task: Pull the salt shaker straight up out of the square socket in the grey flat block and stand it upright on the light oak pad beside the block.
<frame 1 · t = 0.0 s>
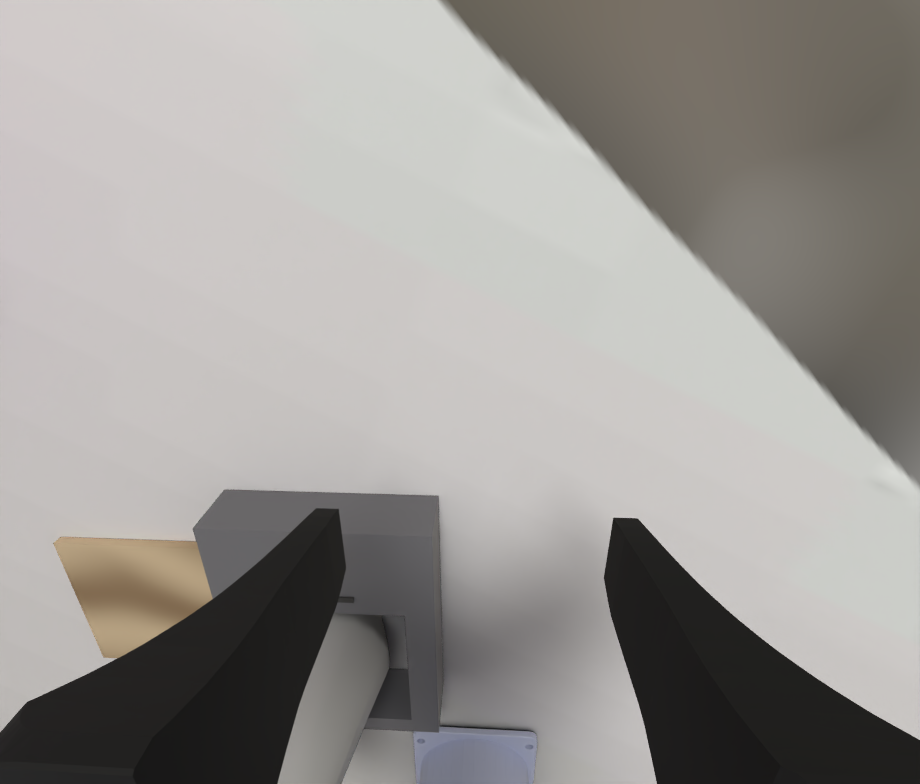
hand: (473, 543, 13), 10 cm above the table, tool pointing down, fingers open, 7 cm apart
grey flat block: (344, 595, 28), on the table
oak pad: (160, 600, 29), on the table
salt shaker: (348, 617, 29), resting in grey flat block
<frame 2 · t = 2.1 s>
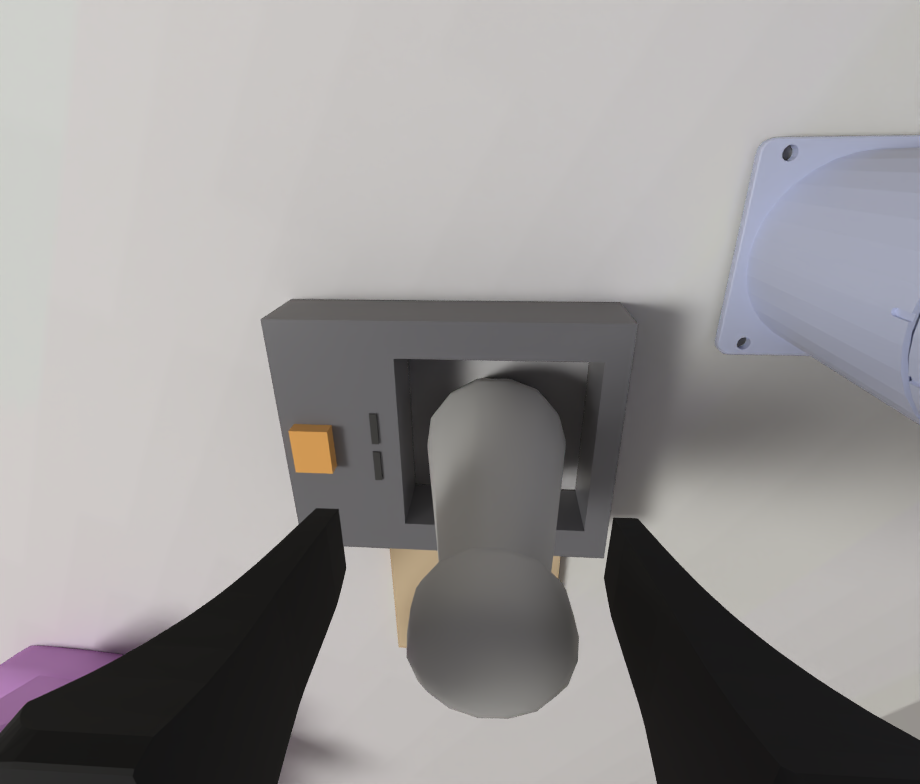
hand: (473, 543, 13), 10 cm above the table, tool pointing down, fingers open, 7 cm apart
grey flat block: (453, 415, 23), on the table
oak pad: (474, 589, 28), on the table
salt shaker: (496, 414, 23), resting in grey flat block
teakettle: (114, 704, 36), on the table
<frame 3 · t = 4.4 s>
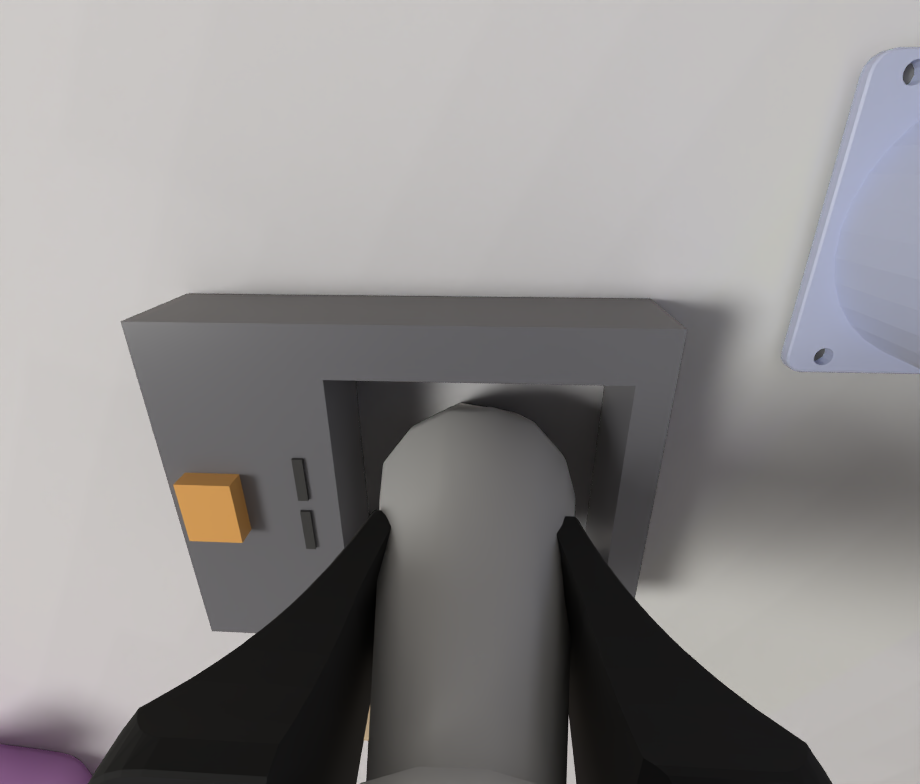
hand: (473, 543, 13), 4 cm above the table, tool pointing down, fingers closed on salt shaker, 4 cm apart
grey flat block: (419, 453, 17), on the table
salt shaker: (477, 451, 17), resting in grey flat block, touching gripper
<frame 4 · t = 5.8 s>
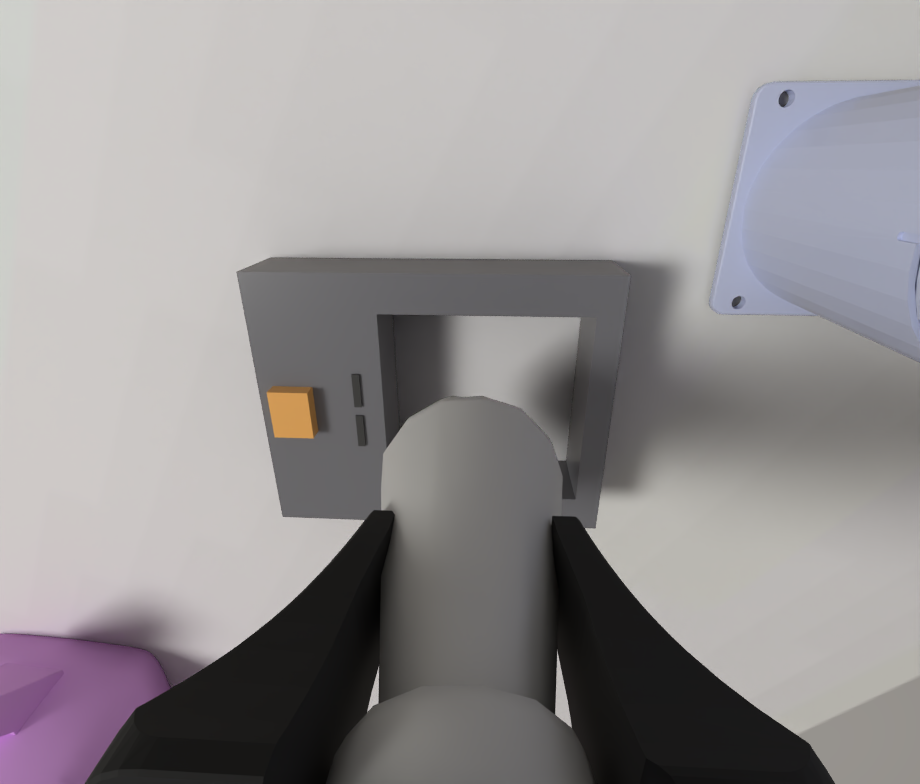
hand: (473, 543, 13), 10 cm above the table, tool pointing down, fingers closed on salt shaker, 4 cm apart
grey flat block: (440, 382, 22), on the table
salt shaker: (471, 442, 18), point 5 cm above the table, touching gripper
teakettle: (89, 696, 34), on the table
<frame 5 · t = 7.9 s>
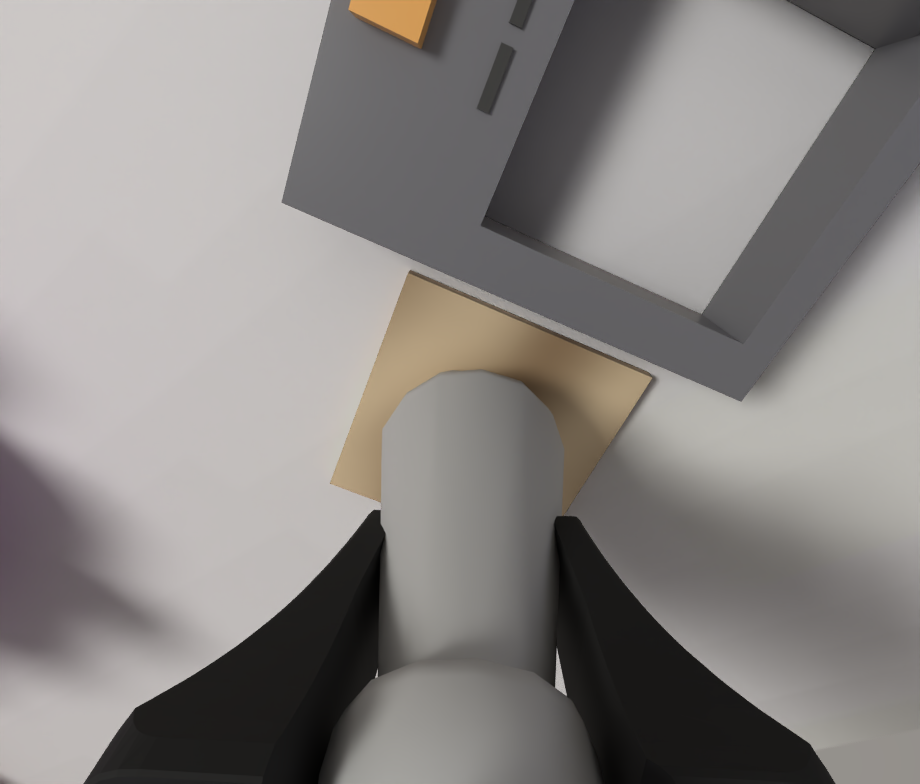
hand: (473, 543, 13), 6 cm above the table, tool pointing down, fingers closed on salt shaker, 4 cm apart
grey flat block: (602, 108, 14), on the table
oak pad: (479, 427, 19), on the table
salt shaker: (472, 416, 18), resting on oak pad, touching gripper
when the fingers open (6 cm above the table, at t = 8.8 s): salt shaker stays where it is, resting on oak pad.
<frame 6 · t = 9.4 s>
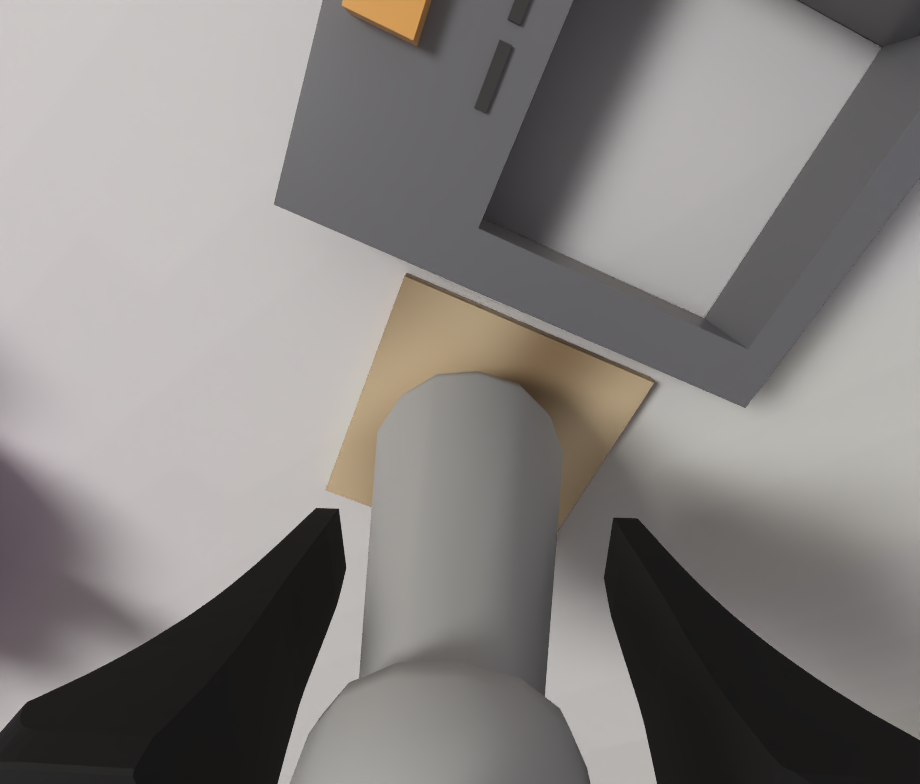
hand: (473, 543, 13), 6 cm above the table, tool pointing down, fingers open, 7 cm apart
grey flat block: (602, 108, 14), on the table
oak pad: (478, 433, 18), on the table
salt shaker: (470, 421, 18), resting on oak pad
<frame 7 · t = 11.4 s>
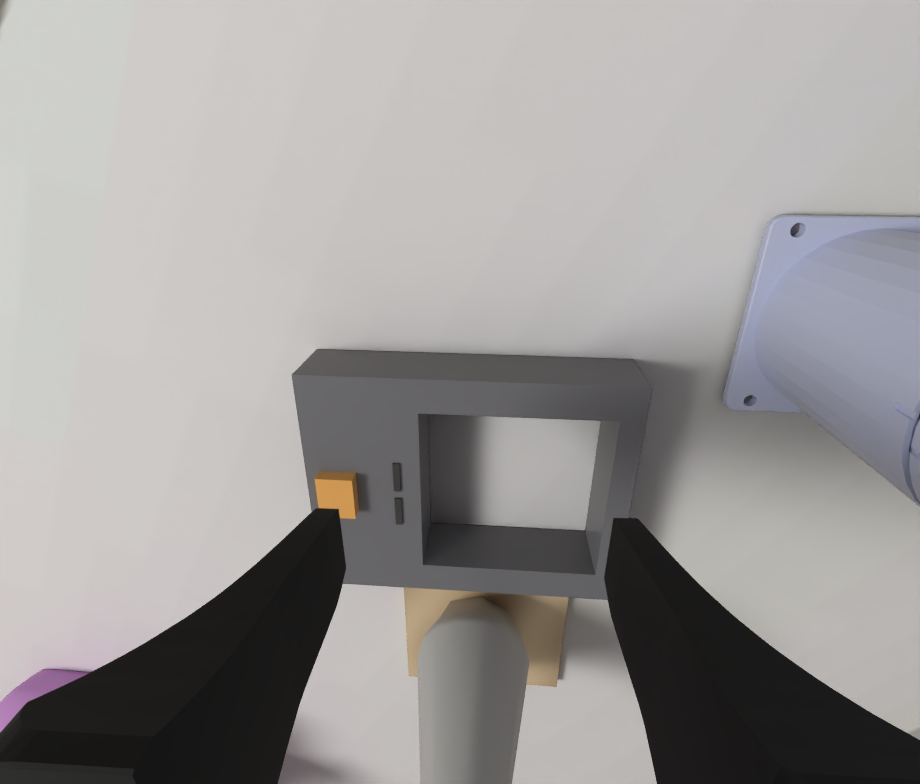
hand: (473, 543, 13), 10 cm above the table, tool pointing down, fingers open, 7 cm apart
grey flat block: (470, 459, 24), on the table
oak pad: (484, 621, 29), on the table
salt shaker: (475, 619, 28), resting on oak pad
teakettle: (124, 726, 36), on the table
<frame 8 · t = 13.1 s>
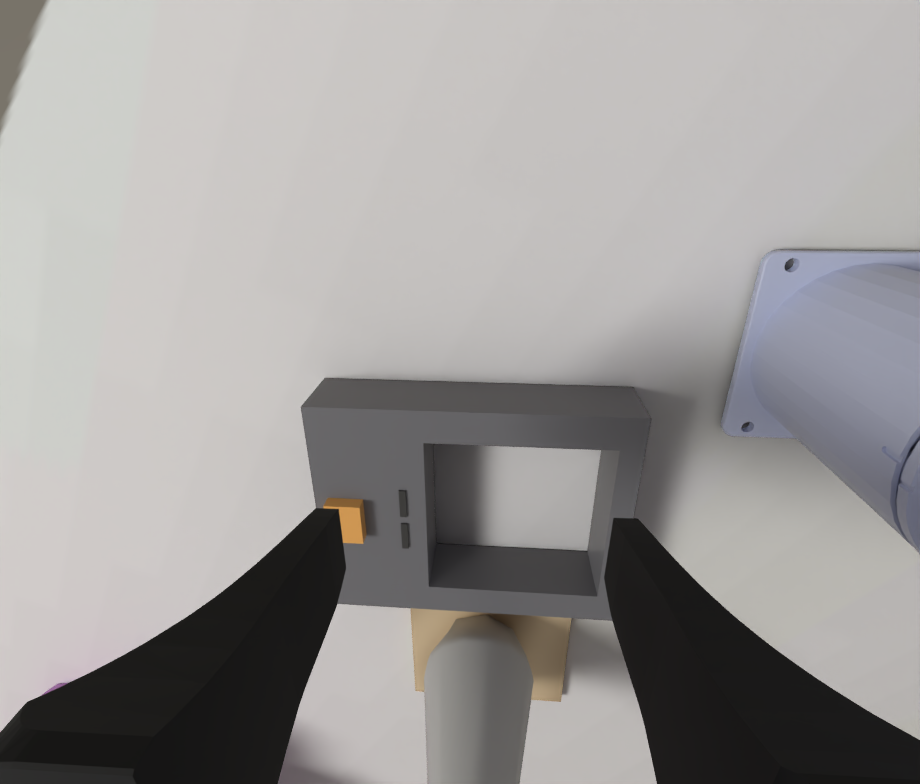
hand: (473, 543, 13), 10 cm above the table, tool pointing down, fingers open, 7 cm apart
grey flat block: (474, 483, 25), on the table
oak pad: (489, 638, 29), on the table
salt shaker: (480, 636, 29), resting on oak pad
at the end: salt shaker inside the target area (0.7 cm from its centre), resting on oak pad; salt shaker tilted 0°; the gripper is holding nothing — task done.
